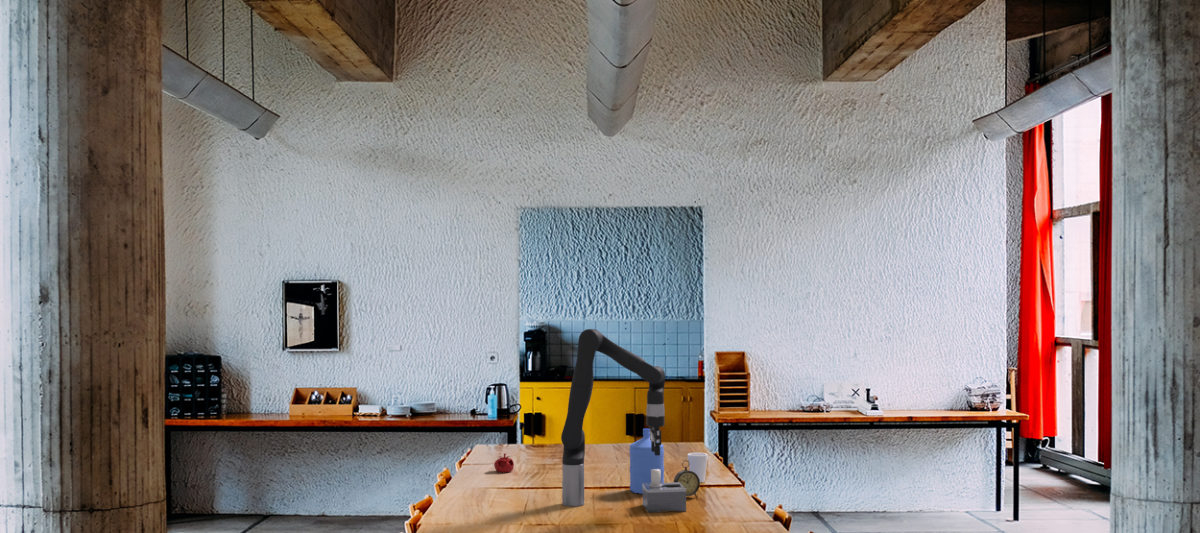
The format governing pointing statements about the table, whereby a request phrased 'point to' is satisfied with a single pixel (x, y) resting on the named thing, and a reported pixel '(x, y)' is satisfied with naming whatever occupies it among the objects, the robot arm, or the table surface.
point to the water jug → (644, 462)
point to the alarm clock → (688, 481)
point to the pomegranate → (504, 464)
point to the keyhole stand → (664, 497)
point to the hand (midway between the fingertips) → (655, 453)
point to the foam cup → (698, 464)
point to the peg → (655, 478)
